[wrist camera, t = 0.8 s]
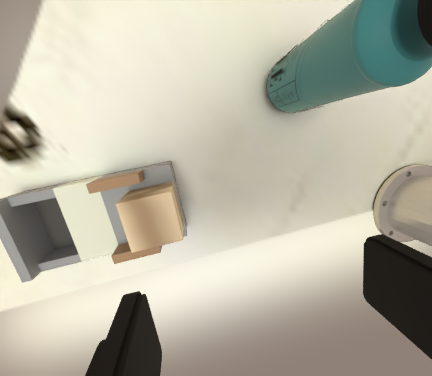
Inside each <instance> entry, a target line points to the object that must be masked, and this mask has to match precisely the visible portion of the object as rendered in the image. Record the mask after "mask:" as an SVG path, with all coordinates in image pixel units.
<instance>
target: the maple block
mask: <svg viewBox="0 0 432 376" xmlns="http://www.w3.org/2000/svg"><path fill="white" fill-rule="evenodd" d="M116 207H117V210H118V213H119V216H120V219H121V222H122V225H123V228H124V231H125V234H126V237H127V240H128V243H129V246H130V249H131V252H132V253H133V252H137V251H141V250H145V249H149V248H153V247H157V246H161V245H165V244H169V243H173V242H177V241H181V240H183V218H182V214H181V210H180V206H179V202H178V198H177V194H176V190H175V186H174V182H173V181H172V182H168V183H163V184H158V185H154V186H149V187H145V188H140V189H135V190H131V191H128V192H127V193H126V194H125V195H124V196H123V197H122V198H121V199H120V200H119V201H118V202H117V203H116Z"/></svg>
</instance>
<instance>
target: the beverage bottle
mask: <svg viewBox="0 0 432 376" xmlns="http://www.w3.org/2000/svg"><path fill="white" fill-rule="evenodd" d="M345 7H346V6H345ZM327 21H328V22H327V23H326V24H325V25H323V26H322V27H321V28H320V29H318V30H317V31H316V32H314V34H312V35H311V36H310V37H309V38H307V39H306V40H305V41H304V42H303V43H301V44H300V43H299V44H300V45H299V46H298V45H296V46H295V47H297V46H298V47H297V48H295V47H294V48H295V49H294V48H293V49H294V50H293V49H292V50H291V51H292V52H291V51H290V52H289V53H288V54H287V55H286V56H285V57H283V58H282V59H281V60H280V61H279V60H278V61H279V62H277V64H276V65H275V64H274V68H273V69H272V71H271V73H269V74H270V75H269V76H268V77H269V78H268V81H267V92H268V96H269V98H270V100H271V102H272V103H273V105H274V106H275V107H277V108H278V109H280V110H282V111H285V112H294V113H295V112H297V111H298V112H299V111H301V110H302V111H303V110H305V109H306V110H307V109H308V108H310V109H311V108H312V107H314V108H316V106H320V105H324V104H327V103H331V102H335V101H337V100H338V101H339V100H341V99H345V98H349V97H353V96H357V95H361V94H365V93H369V92H373V91H377V90H381V89H385V88H389V87H397V86H402V85H405V84H408V83H411V82H413V81H415V80H416V79H418V78H419V77H421V76H422V75H424V74H425V73H426V72H427V71H428V70H429V69H430V68H431V67H432V0H355V1H353V2H352V3H351V4H350V5H349V6H348V5H347V7H346V8H345V9H344V10H342V11H341V12H340V13H339V14H337V15H336V16H335V17H333V18H332V19H331V20H327ZM325 22H326V21H325ZM322 24H323V23H322ZM320 107H323V106H320ZM310 109H309V110H310ZM312 109H313V108H312ZM306 110H305V111H306Z"/></svg>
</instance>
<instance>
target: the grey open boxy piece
mask: <svg viewBox="0 0 432 376" xmlns="http://www.w3.org/2000/svg"><path fill="white" fill-rule="evenodd" d="M172 181H173V182H174V186H175V190H176V194H177V198H178V202H179V206H180V210H181V214H182V218H183V237H184V236H187V226H186V221H185V217H184V213H183V209H182V205H181V201H180V197H179V192H178V188H177V184H176V180H175V176H174V172H173V168H172V164H171V161H169V162H164V163H159V164H154V165H150V166H145V167H140V168H135V169H130V170H126V171H121V172H116V173H111V174H106V175H101V176H97V177H92V178H87V179H82V180H77V181H73V182H68V183H63V184H58V185H53V186H49V187H44V188H39V189H34V190H29V191H24V192H20V193H17V194H14V195H11V196H8V197H5V198H2V199H0V239H1V241H2V243H3V245H4V247H5V249H6V251H7V253H8V255H9V257H10V259H11V261H12V263H13V265H14V267H15V269H16V271H17V273H18V275H19V277H20V279H21V281H22V282H26V281H30V280H33V279H34V278H35V277H36V276H37V275H38V274H39V273H40V272H42V271H46V270H50V269H54V268H58V267H62V266H66V265H70V264H74V263H78V262H82V261H87V260H91V259H95V258H99V257H103V256H107V255H111V254H112V259H113V262H114V264H116V263H120V262H124V261H128V260H132V259H136V258H140V257H144V256H148V255H152V254H156V253H160V252H161V248H162V245H161V246H157V247H153V248H149V249H145V250H141V251H137V252H133V253H132V252H131V249H130V246H129V243H128V240H127V237H126V234H125V231H124V228H123V225H122V222H121V219H120V216H119V213H118V210H117V207H116V203H117V202H118V201H119V200H120V199H121V198H122V197H123V196H124V195H125V194H126V193H127V192H128V191H131V190H135V189H140V188H145V187H149V186H154V185H158V184H163V183H168V182H172Z"/></svg>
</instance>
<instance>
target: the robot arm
mask: <svg viewBox="0 0 432 376" xmlns="http://www.w3.org/2000/svg"><path fill="white" fill-rule="evenodd" d="M373 213H374V220H375V224H376V226H377V228H378V230H379V231H380V232H381V233H382V235H376V236H372V237H369V238H367V239H366V242H365V243H364V271H363V273H364V274H363V275H364V276H363V295H364V298H365V299H366V301H367V302H368V303H369V304H370V305H371V306H372V307H373V308H375V309H376V310H377V311H378V312H379V313H380V314H381V315H383V317H385V318H386V319H387V320H388V321H389V322H390V323H391V324H392V325H394V326H395V327H396V328H397V329H398V330H399V331H400V332H402V333H403V334H404V335H405V336H406V337H407V338H408V339H409V340H411V341H412V342H413V343H414V344H415V345H416V346H417V347H418V348H420V349H421V350H422V351H423V352H424V353H425V354H426V355H427V356H428V357H430V358H431V359H432V257H430V256H428V255H425V254H423V253H421V252H419V251H417V250H415V249H413V248H411V247H409V246H407V245H404V244H402V243H400V242H408V241H412V240H415V239H416V240H419V241H421V242H424V243H426V244H428V245H431V246H432V167H431V166H427V165H410V166H407V167H404V168H402V169H400V170H398V171H396V172H395V173H394V174H393V175H391V176H390V177H389V178H388V179H387V180H386V181H385V183H384V184H383V185H382V187H381V188H380V190H379V192H378V194H377V196H376V200H375V203H374V210H373ZM161 361H162V350H161V345H160V342H159V339H158V335H157V332H156V328H155V324H154V322H153V318H152V314H151V311H150V307H149V304H148V300H147V297H146V295H145V294H143V295H141V293H140V292H139V291H138V292H134V293H130V294H126V295H124V296H123V297H122V299H121V302H120V304H119V307H118V310H117V312H116V315H115V317H114V320H113V322H112V325H111V327H110V330H109V333H108V335H107V338H106V339H105V340H102V341H101V342H100V343H99V345H98V347H97V349H96V351H95V353H94V356H93V358H92V361H91V363H90V365H89V368H88V370H87V373H86V375H85V376H160V371H161V370H160V369H161Z"/></svg>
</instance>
